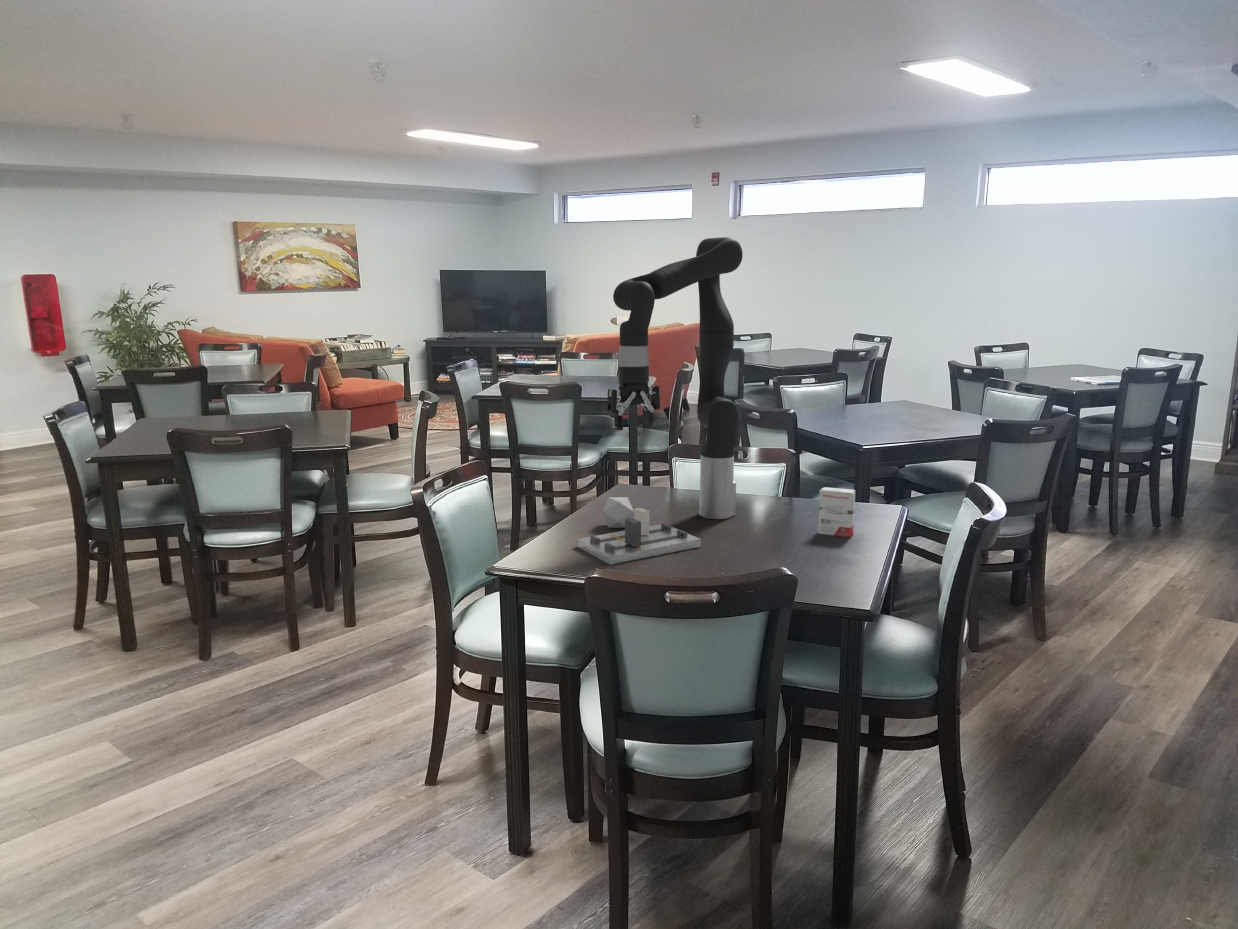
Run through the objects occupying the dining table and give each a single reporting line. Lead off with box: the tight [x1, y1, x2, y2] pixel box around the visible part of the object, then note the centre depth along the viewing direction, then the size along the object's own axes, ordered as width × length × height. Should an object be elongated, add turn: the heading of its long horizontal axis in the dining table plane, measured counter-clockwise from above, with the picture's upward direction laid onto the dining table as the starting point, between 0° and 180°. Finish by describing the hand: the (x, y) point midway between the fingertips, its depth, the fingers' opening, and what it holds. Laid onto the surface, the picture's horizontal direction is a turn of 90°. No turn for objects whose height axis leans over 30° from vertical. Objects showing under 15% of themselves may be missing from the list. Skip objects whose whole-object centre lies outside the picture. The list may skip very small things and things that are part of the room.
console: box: [576, 522, 702, 566], centre depth 208 cm, size 26×16×3 cm, turn 121°
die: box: [602, 496, 634, 529], centre depth 225 cm, size 8×9×10 cm
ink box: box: [817, 486, 856, 538], centre depth 218 cm, size 9×5×12 cm, turn 65°
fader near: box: [624, 517, 641, 547], centre depth 202 cm, size 2×4×6 cm, turn 31°
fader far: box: [633, 507, 650, 536], centre depth 211 cm, size 2×4×6 cm, turn 31°
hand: (633, 428), depth 212 cm, fingers open, 8 cm apart
